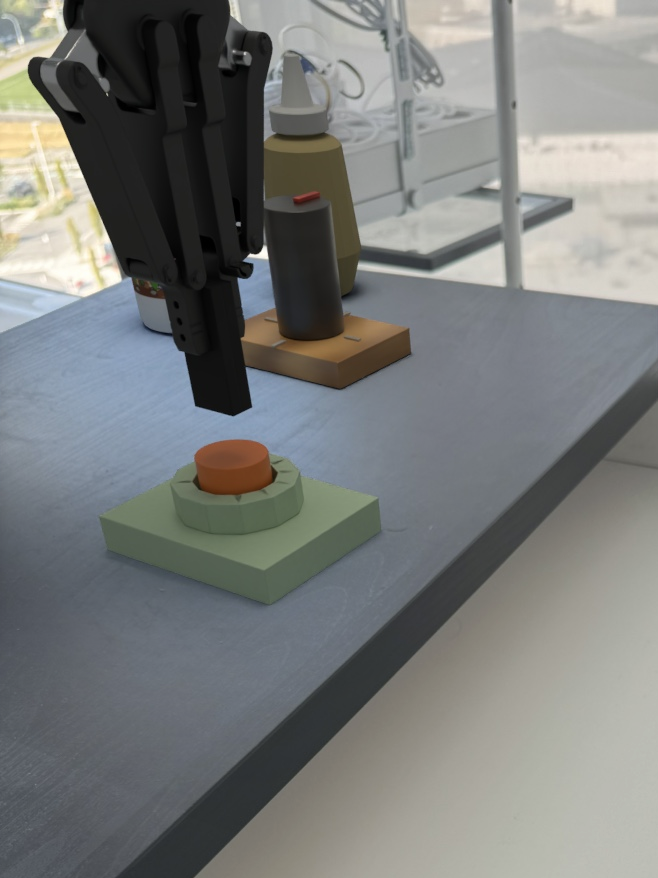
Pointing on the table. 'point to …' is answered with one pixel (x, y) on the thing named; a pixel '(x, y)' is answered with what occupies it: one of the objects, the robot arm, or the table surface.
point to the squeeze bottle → (311, 163)
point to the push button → (233, 467)
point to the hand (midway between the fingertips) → (223, 406)
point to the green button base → (244, 530)
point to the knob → (303, 266)
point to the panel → (324, 350)
